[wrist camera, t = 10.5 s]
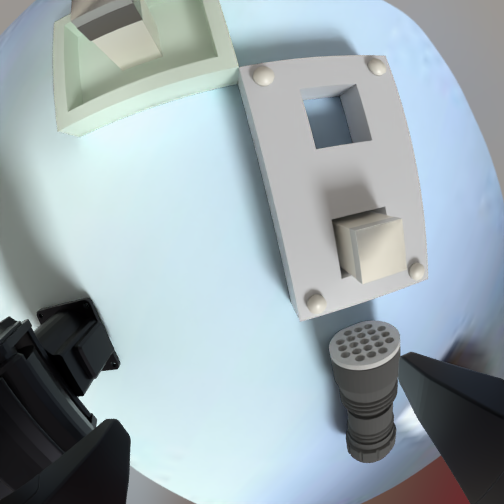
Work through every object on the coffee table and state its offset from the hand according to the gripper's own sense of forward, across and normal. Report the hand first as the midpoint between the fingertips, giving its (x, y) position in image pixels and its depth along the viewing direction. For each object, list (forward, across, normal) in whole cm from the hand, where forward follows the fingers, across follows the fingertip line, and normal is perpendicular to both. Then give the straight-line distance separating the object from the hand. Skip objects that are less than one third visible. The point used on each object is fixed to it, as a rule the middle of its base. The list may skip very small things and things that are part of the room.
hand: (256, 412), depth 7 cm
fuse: (+13, -8, -1) cm, 15 cm away
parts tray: (+13, +3, -18) cm, 22 cm away
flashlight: (+14, -8, +14) cm, 21 cm away
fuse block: (+13, -8, -5) cm, 16 cm away
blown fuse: (+12, +3, -18) cm, 22 cm away
